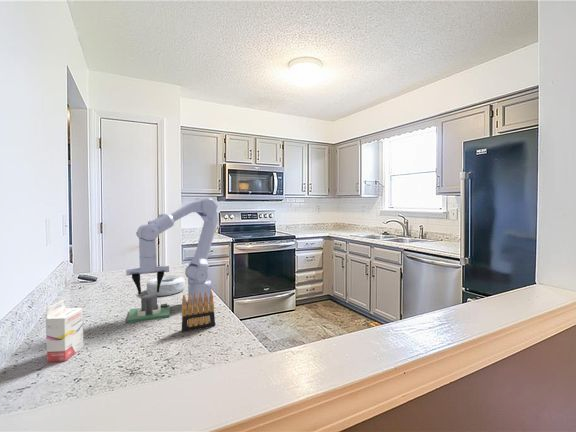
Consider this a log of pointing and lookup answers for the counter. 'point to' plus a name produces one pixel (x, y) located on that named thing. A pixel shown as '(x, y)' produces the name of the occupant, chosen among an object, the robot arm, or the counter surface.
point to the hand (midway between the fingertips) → (149, 292)
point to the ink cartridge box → (63, 331)
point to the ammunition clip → (197, 313)
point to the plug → (149, 303)
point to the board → (140, 315)
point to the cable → (166, 285)
